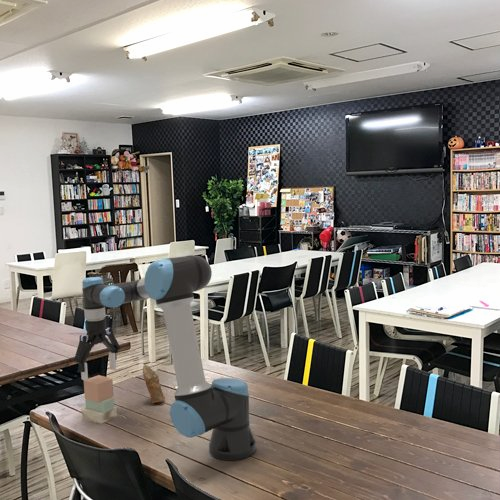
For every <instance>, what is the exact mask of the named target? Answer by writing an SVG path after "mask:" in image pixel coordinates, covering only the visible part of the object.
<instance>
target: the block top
mask: <svg viewBox="0 0 500 500" xmlns="http://www.w3.org/2000/svg"><path fill="white" fill-rule="evenodd" d="M84 403H85V408H88V409H91V410H95V411H99V412H103V413H106V412H108V411H110V410H112V409H114V408H115V407H116V406H115V398H114V397H112V398H109V399H107V400H104V401H101V402H99V403H98V402H95V401H92V400H88V399H85V398H84Z"/></svg>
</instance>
